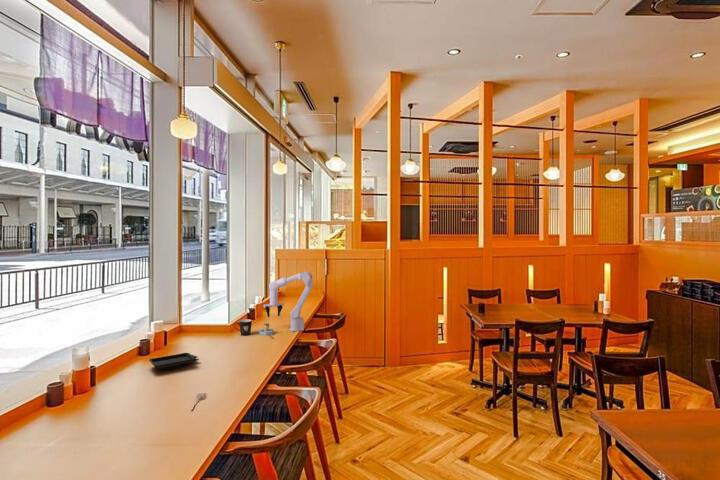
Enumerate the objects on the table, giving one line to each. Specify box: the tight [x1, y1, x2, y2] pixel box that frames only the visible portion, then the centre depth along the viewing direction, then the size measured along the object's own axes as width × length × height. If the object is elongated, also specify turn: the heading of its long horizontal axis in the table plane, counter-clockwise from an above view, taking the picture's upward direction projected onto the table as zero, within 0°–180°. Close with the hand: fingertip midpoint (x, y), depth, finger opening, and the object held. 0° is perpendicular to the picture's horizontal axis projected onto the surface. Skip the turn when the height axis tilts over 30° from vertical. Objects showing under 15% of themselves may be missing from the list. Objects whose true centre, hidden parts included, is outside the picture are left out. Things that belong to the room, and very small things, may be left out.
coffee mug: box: [233, 318, 253, 337], centre depth 294 cm, size 12×9×10 cm
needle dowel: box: [263, 323, 270, 331], centre depth 297 cm, size 3×3×7 cm
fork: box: [195, 392, 206, 404], centre depth 180 cm, size 3×21×3 cm, turn 2°
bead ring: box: [258, 328, 275, 337], centre depth 297 cm, size 10×10×2 cm
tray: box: [148, 352, 198, 371], centre depth 227 cm, size 30×23×5 cm
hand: (273, 316), depth 308 cm, fingers open, 7 cm apart
